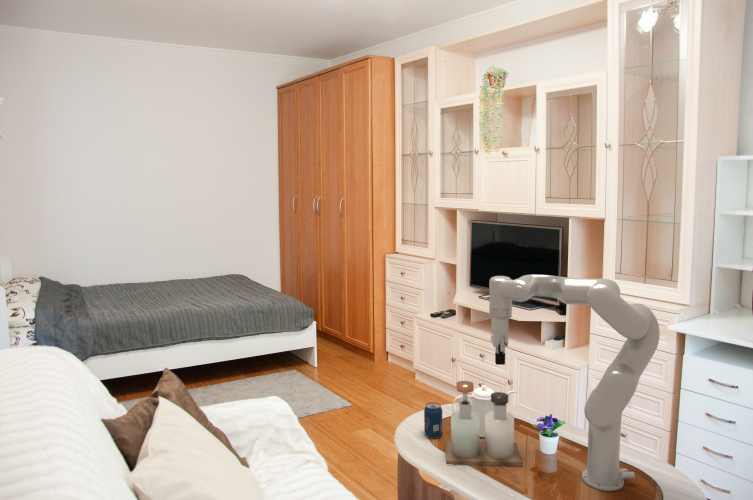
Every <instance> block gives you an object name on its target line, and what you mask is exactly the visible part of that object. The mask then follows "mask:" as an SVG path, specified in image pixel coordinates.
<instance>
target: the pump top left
mask: <svg viewBox="0 0 753 500" xmlns="http://www.w3.org/2000/svg"><path fill="white" fill-rule="evenodd" d="M494 392H495V393H492V394H491V402H493V403H495V404H497V405H502V404H507V405H508V403H509V395H508V394H507V393H506V392H501V391H494Z"/></svg>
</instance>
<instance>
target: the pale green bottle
mask: <svg viewBox="0 0 753 500" xmlns="http://www.w3.org/2000/svg"><path fill="white" fill-rule="evenodd" d="M458 401H459V400H458ZM471 405H472V400H467V404H463V400H461V401H459V404H458V410H456V411H454V412H452V413H451V414H450V441H451V452H452V453H453V454H454V455H455V456H457V457H461V458H472V457H475V456H477V455H478V454H479V442H480V437H479V415H478V414H477V413H475V412H472V411H471Z"/></svg>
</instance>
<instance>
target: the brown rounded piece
mask: <svg viewBox="0 0 753 500" xmlns="http://www.w3.org/2000/svg"><path fill="white" fill-rule="evenodd" d="M455 385H456V387H455V388H456V391H457V392H459V393H462V395H463V399H462V401H463V404H467V401H468V397H467V395H468V393H472V392H473V391H474V390H475V388H474V387H475V385H474V383H473V382H472V381H469V380H459V381H457V382H456V384H455Z"/></svg>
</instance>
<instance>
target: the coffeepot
mask: <svg viewBox="0 0 753 500" xmlns="http://www.w3.org/2000/svg"><path fill="white" fill-rule="evenodd" d="M495 392H496V391H494V389H492V388H490V387H487V385H486V384H485V385H484V384H483V385H481V386H480V387H477V388H474V391H472V392H471V394H467V398H470V399H471V400H470V401H471V411H472V412H475V413H477V414H478V415H479V438H483V439H485V415H486V414H487V413H488V412H491V411H493V402H491V394H492V393H495ZM518 393H519V391H517V390H510V391H507V393H506V394H508V396H509V395H510V394H518ZM458 399H459V400H458ZM457 400H458V401H457ZM456 401H457V404H456V409H459V401H463V394H461V395H458V396H456V397H455V398H454V399H453V401H452V406H451V408H452V413H454V412H455V410H454V404H455V402H456ZM507 406H508V403H507V404H506V410H508V409H507V408H508V407H507Z"/></svg>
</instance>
